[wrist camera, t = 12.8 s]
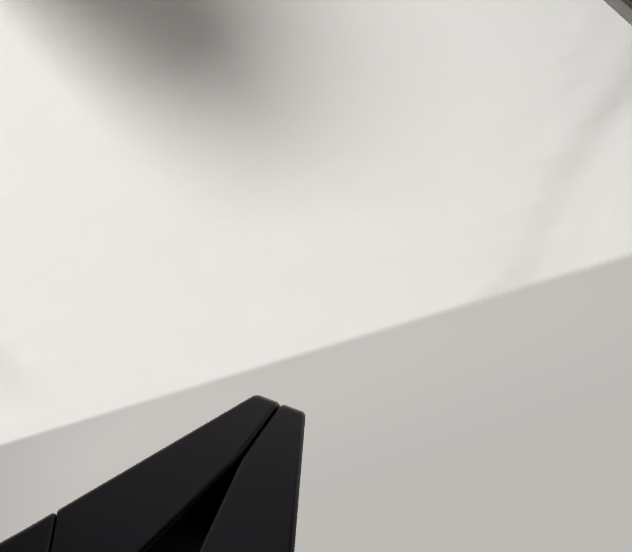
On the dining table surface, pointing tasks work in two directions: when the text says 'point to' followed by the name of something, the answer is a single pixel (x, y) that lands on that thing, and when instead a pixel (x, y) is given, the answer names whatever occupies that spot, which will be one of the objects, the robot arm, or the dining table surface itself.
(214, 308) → the dining table surface
